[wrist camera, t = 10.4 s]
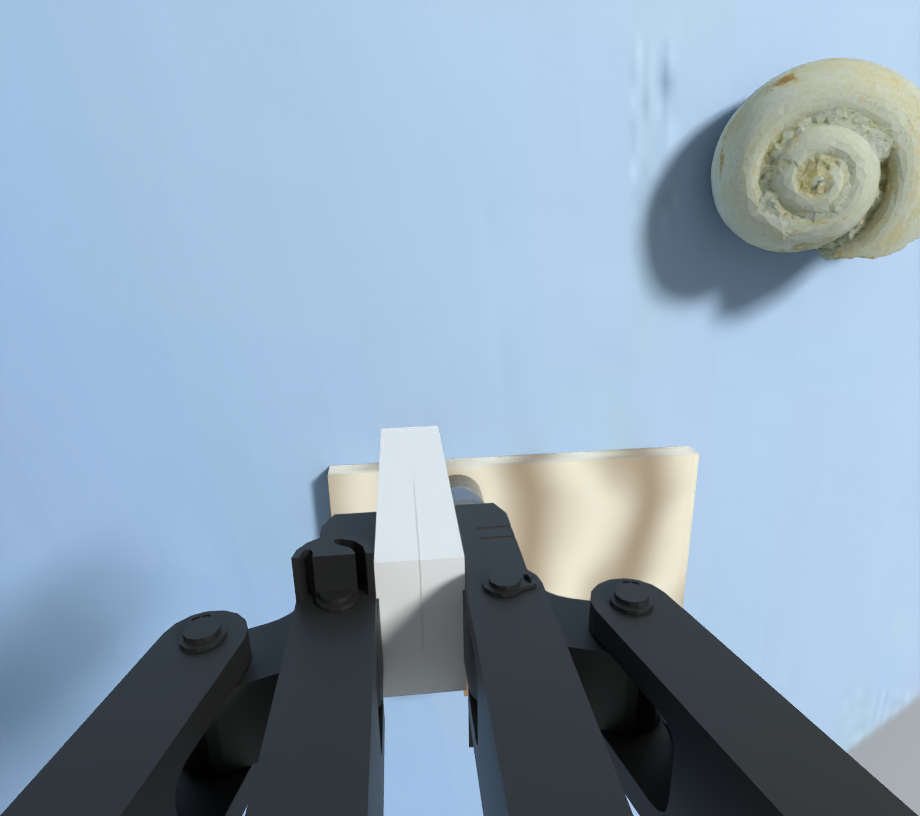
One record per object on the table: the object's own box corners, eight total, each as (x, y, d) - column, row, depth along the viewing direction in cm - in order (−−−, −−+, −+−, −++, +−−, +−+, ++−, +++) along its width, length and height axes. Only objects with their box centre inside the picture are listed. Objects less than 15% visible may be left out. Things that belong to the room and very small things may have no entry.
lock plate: (345, 647, 45) (344, 661, 43) (329, 465, 40) (327, 475, 39) (671, 620, 47) (679, 633, 45) (688, 445, 43) (699, 454, 41)
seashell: (742, 251, 31) (831, 23, 27) (668, 222, 38) (731, 38, 34) (941, 292, 34) (1049, 93, 30) (839, 259, 41) (916, 93, 37)
